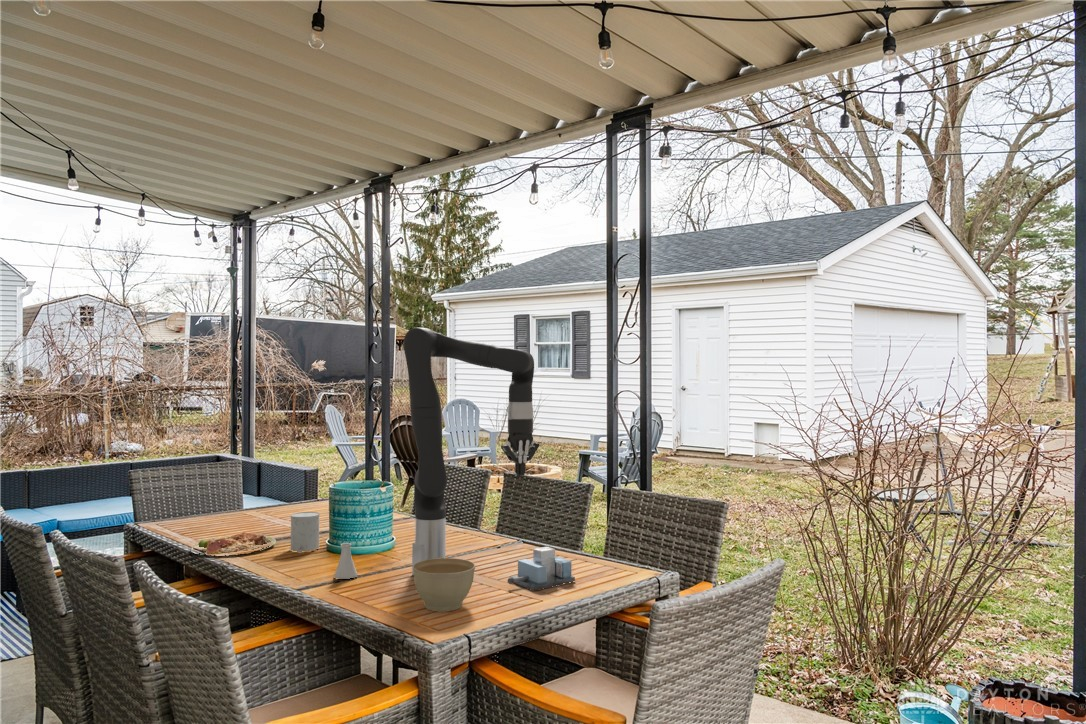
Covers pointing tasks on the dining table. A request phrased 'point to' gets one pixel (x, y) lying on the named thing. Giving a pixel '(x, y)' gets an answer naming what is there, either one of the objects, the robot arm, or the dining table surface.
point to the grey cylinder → (304, 531)
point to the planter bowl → (443, 582)
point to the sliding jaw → (530, 572)
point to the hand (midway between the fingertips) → (520, 475)
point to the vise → (560, 577)
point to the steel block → (545, 559)
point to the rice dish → (235, 543)
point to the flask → (345, 564)
